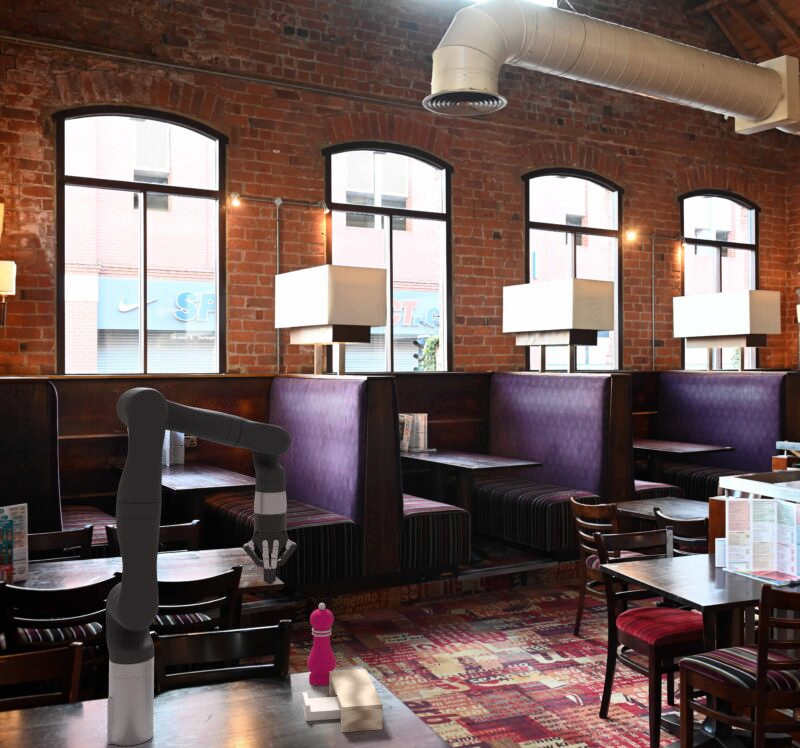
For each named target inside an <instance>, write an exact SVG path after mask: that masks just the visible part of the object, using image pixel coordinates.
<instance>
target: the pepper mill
mask: <svg viewBox="0 0 800 748" xmlns="http://www.w3.org/2000/svg"><path fill="white" fill-rule="evenodd" d="M334 620H335V619H334V615H333V612H332V611H331V610H329V609H327V608H326V604H325V603H324V602H320V603H319V604H318V608H317V609H314V610H313V611H312V613H310V618H309V622H310V625H311V626H312V628H311V631H312V632H311V635H313V642H312V643H313V645H312V648H311V651H310V653H309V655H308V658H307V662H306V663H307V665H306V667H307V669H308V671H309V672H310V673H309V674H308V683H310V684H311V685H313V686H318V687H319V686H322V685H324V686H328V684H329V672H330V671H335V669H336V665H337V664H336V656H335V655H334V652H333V649H332V647H331V646H332V645H331V640H330V639H331V635H332V627H333V626H332V625H333V624H334V622H335V621H334Z"/></svg>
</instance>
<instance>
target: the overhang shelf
mask: <svg viewBox="0 0 800 748" xmlns="http://www.w3.org/2000/svg"><path fill="white" fill-rule="evenodd" d="M328 688H329V689H328V690H329V692H328V693H329V697H337V698H338V701H339V704H340V707H341V719H340V729H341V732H342V733H350V732H361V731H362V732H363V731H376V730H383V716H384V715H383V711H384V710H383V705H384V704H383V703H382V700H381V699H380V696H379V693H378V692H377V689H376V688H375V685H374V683H373V681H372V679H371V677H370V675H369V673H368V671H367V669H366V668H361V669H360V668H357V669H341V670H333V671H330V672H329V687H328ZM336 695H337V696H336Z"/></svg>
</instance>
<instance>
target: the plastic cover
mask: <svg viewBox="0 0 800 748" xmlns="http://www.w3.org/2000/svg"><path fill="white" fill-rule="evenodd" d="M302 710H303V716H304V720H305V721H306V722H309V721H310V722H311V721H324V720H325V721H326V720H338V719H339V718H340V720H341V707H340V704H339V701H338V698H337V696H327V697H326V696H325V697H311V698H309V695H308V692H302Z"/></svg>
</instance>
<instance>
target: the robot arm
mask: <svg viewBox="0 0 800 748" xmlns="http://www.w3.org/2000/svg"><path fill="white" fill-rule="evenodd" d="M116 413H117V416H118V418H119V420H120V421H121V423H122V424H124V426H125V427H127V436H128V437H127V439H128V442H127V443H128V444H127V445H128V446H127V447H128V449H127V456H126V461H125V464H124V468H123V471H122V474H121V477H120V480H119V483H118V488H117V495H116V503H115V504H116V506H115V508H116V509H115V527H116V535H117V540H118V545H119V550H120V555H121V561H122V562H121V563H122V567H121V568H122V573H121V582H118V583H117V584H115V586H113V588H111V590H110V591H109V593H108V596H107V598H106V605H105V629H106V631H105V632H106V636H105V637H106V645H107V648H108V654H109V655H108V659H109V660H108V662H109V663H108V664H109V666H108V669H109V670H108V698H107V700H106V701H107V704H106V707H107V711H106V712H107V714H106V717H107V718H106V719H107V721H106V722H107V723H106V729H107V731H106V743H107V745H111V744H112V745H116V746H135V745H140V744H143V743H146V742H147V741H149V740H151V739H152V738H153V737H154V729H155V728H154V727H155V726H154V709H155V708H154V706H155V705H154V704H155V698H154V696H155V693H154V688H155V683H154V682H155V681H154V680H155V676H154V675H155V646H154V645H155V643H154V641H153V639H152V636H151V631H150V626H151V625H152V624H153V622H154V621H155V619H156V617H157V615H158V612H159V608H160V607H159V605H160V602H159V601H160V599H159V585H158V584H159V582H158V554H159V553H158V552H159V545H160V544H159V541H160V528H161V527H160V526H161V515H162V484H163V449H164V443H165V435H166V431H171V432H175V433H180V434H185V435H188V436H191V437H194V438H198V439H199V440H200V439H201V440H204V441H208V442H212V443H214V444H218V445H222V446H227V447H232V448H239V449H247V450H249V451H251V455H252V460H253V466H254V470H255V493H254V503H253V504H254V505H253V513H254V514H253V515H254V516H253V529H254V530H253V535H252V536H251V540H250V541H248V542H247V543H244V544H243V545H242V546H243V550H244V552H245V553H246V555H248V556H249V558H250V559H251V561H252V562H253V563H254V564H255V566H257V567H261V568H262V569H263V581H264V583H266V585H273V584H274V583H275V582H276V580H277V568H278V567H280V566H284V565H285V563H287V561H288V560H289V558H290V557H291V556H292V554H293V553H294V552H295V551H296V550H297V546H298V545H297V543H296V542H294V541H292V540H290V539H289V535H288V533H287V493H286V491H287V490H286V488H287V487H286V486H287V482H286V481H287V480H286V478H287V477H286V469H285V468H284V467H283V466H282V465H281V462H280V457H281V456H282V455H285V454H286V453H287V452H288V451H289V449H290V448H291V445H292V439H291V435H290V433H289V432H288V431H287V429H285V428H283V427H282V426H280V425H274V424H268V423H263V422H258V421H252V420H250V419H247V418H244V417H242V416H237V415H233V414H229V413H225V412H220V411H215V410H210V409H204V408H200V407H199V408H198V407H193V406H187V405H183V404H180V403H177V402H174V401H171V400H168V399H166V397H165V396H164V395H163V393H161V392H160V391H159V390H157V389H154V388H150V387H135V388H134V387H133V388H131V389H128V390H127V391H125V392H124V393H122V394H121V395H120V396H119V398H118V401H117V404H116ZM254 545H255V546H254ZM255 547H256V548H257V550H258V551H259V552H260V553H261V554H262V559H260V558H259V556H258V555H257V554H256V552H255ZM284 547H285V549H286V550H285V551H284V552H283V553H282V555H281V556H280V557H279V558H278V554H279V553H280V552H281V551H282V549H283V548H284ZM269 554H271V558H270V557H269V556H270V555H269Z"/></svg>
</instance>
